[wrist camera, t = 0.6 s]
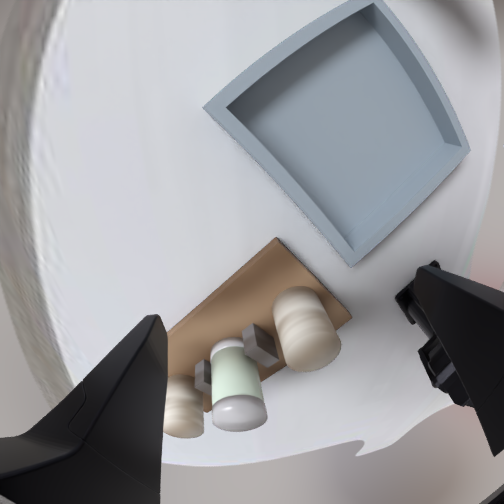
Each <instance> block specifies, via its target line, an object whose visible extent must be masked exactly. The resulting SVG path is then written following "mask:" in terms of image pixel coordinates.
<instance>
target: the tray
mask: <svg viewBox="0 0 504 504" xmlns="http://www.w3.org/2000/svg"><path fill="white" fill-rule="evenodd" d="M202 108H203V109H204V110H205V111H206V112H207V113H208V114H209V115H210V116H211V117H212V118H213V119H215V120H216V121H217V122H218V123H219V124H220V125H221V126H222V127H223V128H224V129H225V130H226V131H227V132H228V133H229V134H230V135H231V136H232V137H233V138H234V139H235V140H236V141H237V142H238V143H239V144H240V145H241V146H242V147H243V148H244V149H245V150H246V151H247V152H248V153H249V154H250V155H251V156H252V157H253V158H254V159H255V160H256V161H257V162H258V164H259V165H260V166H261V167H262V168H263V169H264V170H265V171H266V172H267V173H268V174H269V175H270V176H271V177H272V178H273V179H274V180H275V181H276V183H277V184H278V185H279V186H280V187H281V188H282V189H283V190H284V191H285V192H286V193H287V195H288V196H289V197H290V198H291V199H292V200H293V201H294V202H295V203H296V204H297V206H298V207H299V208H300V209H301V210H302V211H303V212H304V213H305V215H306V216H307V217H308V218H309V219H310V220H311V221H312V223H313V224H314V225H315V226H316V227H317V228H318V229H319V231H320V232H321V233H322V234H323V235H324V236H325V238H326V239H327V240H328V241H329V242H330V244H331V245H332V246H333V247H334V248H335V250H336V251H337V252H338V253H339V254H340V256H341V257H342V258H343V259H344V260H345V262H346V263H347V264H348V265H349V267H350V268H352V267H353V266H354V265H355V264H356V263H357V262H358V261H360V260H361V259H362V258H363V257H364V256H365V255H366V254H368V253H369V252H370V251H371V250H372V249H373V248H374V247H375V246H376V245H378V244H379V243H380V242H381V241H382V240H383V239H384V238H385V237H386V236H387V235H389V234H390V233H391V232H392V231H393V230H394V229H395V228H396V227H397V226H398V225H399V224H400V223H401V222H402V221H403V220H404V219H405V218H407V217H408V216H409V215H410V214H411V213H412V212H413V211H414V210H415V209H416V208H417V207H418V206H419V205H420V204H421V203H422V202H423V201H424V200H425V199H426V198H427V197H428V196H429V195H430V194H431V193H432V192H433V191H434V190H435V189H436V188H437V187H438V186H439V184H440V183H441V182H442V181H443V180H444V179H445V178H446V177H447V176H448V175H449V174H450V173H451V172H452V171H453V170H454V169H455V167H456V166H457V165H458V164H459V163H460V162H461V161H462V160H463V159H464V157H465V156H466V155H467V154H468V153H469V152H470V151H471V149H470V147H469V144H468V141H467V139H466V136H465V134H464V131H463V129H462V127H461V124H460V122H459V120H458V118H457V115H456V113H455V111H454V109H453V107H452V105H451V103H450V101H449V99H448V97H447V95H446V93H445V91H444V89H443V87H442V85H441V83H440V82H439V80H438V78H437V76H436V75H435V73H434V71H433V69H432V68H431V66H430V64H429V63H428V61H427V59H426V58H425V56H424V55H423V53H422V52H421V50H420V49H419V47H418V46H417V44H416V43H415V41H414V40H413V38H412V37H411V36H410V34H409V33H408V31H407V30H406V29H405V27H404V26H403V25H402V23H401V22H400V21H399V19H398V18H397V17H396V16H395V14H394V13H393V12H392V11H391V9H390V8H389V7H388V6H387V5H386V4H385V2H384V1H383V0H349V1H347V2H345V3H343V4H341V5H340V6H338V7H336V8H334V9H333V10H331V11H329V12H327V13H326V14H324V15H322V16H321V17H319V18H317V19H316V20H314V21H313V22H311V23H309V24H308V25H306V26H305V27H303V28H302V29H300V30H299V31H297V32H296V33H294V34H293V35H291V36H290V37H288V38H287V39H285V40H284V41H283V42H281V43H280V44H278V45H277V46H276V47H274V48H273V49H272V50H270V51H269V52H267V53H266V54H265V55H264V56H262V57H261V58H260V59H258V60H257V61H256V62H254V63H253V64H252V65H251V66H249V67H248V68H247V69H246V70H244V71H243V72H242V73H241V74H240V75H238V76H237V77H236V78H235V79H234V80H232V81H231V82H230V83H229V84H228V85H227V86H225V87H224V88H223V89H222V90H221V91H220V92H219V93H218V94H216V95H215V96H214V97H213V98H212V99H211V100H210V101H209V102H208V103H207V104H206V105H204V106H203V107H202Z"/></svg>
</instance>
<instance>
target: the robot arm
mask: <svg viewBox="0 0 504 504" xmlns="http://www.w3.org/2000/svg"><path fill="white" fill-rule="evenodd" d="M395 300H396V301H397V303H398V304H399V306H400V308H401V309H402V311H403V312H404V314H405V315H406V317H407V318H408V320H409V322H410V323H411V324H412V325H413V324H415V323H417V324H418V325H419V327H420V328H421V329H422V330H423V332H424V333H425V334H426V335H427V337H428V338H429V340H428V341H427V343H426V344H425V345H424V346H423V347H422V348H420V349H419V350H418V353H419V355H420V359H421V361H422V363H423V365H424V367H425V370H426V372H427V374H428V376H429V378H430V381H431V383H432V386H433V387H434V388H439V389H440V390H441V391H442V392H444V393H448V394H449V395H450V397H451V399H452V400H453V402H454V403H455V404H457V405H460V406H463V407H464V406H465V405H466V406H470V407H473V408H474V409H475V411H476V414H477V416H478V418H479V421H480V423H481V425H482V428H483V430H484V433H485V436H486V438H487V441H488V443H489V446H490V449H491V452H492V454H493V456H494V457H495V456H496V455H497V454H499V453H500V452H501V451H502V450H504V292H502V291H499V290H496V289H494V288H491V287H488V286H486V285H483V284H480V283H477V282H475V281H472V280H469V279H466V278H464V277H461V276H458V275H455V274H452V273H449V272H446V271H444V270H441V268H440V265H439V263H438V262H437V261H436V260H434V261H433V262H432V263H431V264H430V265H425V266H421V267H419V268H418V269H417V272H416V277H415V279H414V280H413V281H412V282H411V283H410V284H408V285H407V286H406V287H405V288H404V289H403V290H402V291H401V292H400V293H398V294H397V295H396V297H395ZM167 383H168V336H167V332H166V330H165V327H164V325H163V322H162V320H161V318H160V316H159V315H158V314H154V315H147V316H146V317H144V318H143V319H142V320H141V321H140V322H139V323H138V324H137V325H136V326H135V327H134V328H133V329H132V330H131V331H130V332H129V333H128V334H127V335H126V336H125V337H124V338H123V339H122V340H121V341H120V342H119V343H118V344H117V345H116V346H115V347H114V348H113V349H112V350H111V351H110V352H109V353H108V354H107V355H106V356H105V357H104V358H103V359H102V360H101V362H100V363H99V364H98V365H97V366H96V367H95V368H94V369H93V370H92V371H91V372H90V373H89V374H88V375H87V376H86V377H85V378H84V379H83V381H81V382H80V383H79V384H78V385H77V386H76V387H75V388H74V389H73V390H72V391H71V392H70V393H69V394H68V395H67V396H66V397H65V398H64V399H63V400H62V401H61V402H60V403H59V404H58V405H57V406H56V407H55V408H53V409H52V410H51V411H50V412H49V413H48V414H47V415H46V416H44V417H43V418H42V419H41V420H40V421H39V422H38V423H37V424H35V425H34V426H33V427H32V428H31V429H30V430H28V431H27V432H25V433H24V434H21V435H19V436H15V437H5V438H0V504H160V479H161V457H162V440H163V426H164V414H165V403H166V393H167ZM480 504H504V484H503V485H502V486H501V487H499V488H498V489H497V490H496V491H495V492H494V493H492V494H491V495H490V496H489V497H487V498H486V499H485V500H483V501H482V502H481V503H480Z"/></svg>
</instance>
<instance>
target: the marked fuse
mask: <svg viewBox="0 0 504 504" xmlns="http://www.w3.org/2000/svg"><path fill="white" fill-rule="evenodd" d="M210 356H211V381H212V422H213V424H214V425H215V426H216V427H217V428H219V429H222V430H225V431H231V432H242V431H248V430H252V429H255V428H258V427H260V426H261V425H263V424H264V423H265V422H266V421H267V411H266V406H265V403H264V398H263V393H262V387H261V382H260V376H259V371H258V365H257V361H255V360H254V359H252V358H250V357H249V356H247V355H245V351H244V344H243V338H240V337H228V338H224V339H221V340H219V341H218V342H216V343H215V344H214V345H213V346H212V348H211V351H210Z"/></svg>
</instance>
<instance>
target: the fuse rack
mask: <svg viewBox="0 0 504 504" xmlns="http://www.w3.org/2000/svg"><path fill="white" fill-rule="evenodd" d="M351 318H352V316H351V315H350V313H349V311H348V310H347V309H346V308H345V307H344V306H343V305H342V304H341V303H340V302H339V301H338V300H337V299H336V298H335V297H334V296H333V295H332V294H331V293H330V292H329V291H328V289H327V288H326V287H325V286H324V285H323V284H322V283H321V282H320V281H319V280H318V279H317V278H316V277H315V276H314V275H313V274H312V273H311V272H310V271H309V270H308V269H307V268H306V267H305V266H304V265H303V264H302V263H301V262H300V261H299V260H298V259H297V258H296V257H295V256H294V255H293V254H292V253H291V252H290V251H289V250H288V249H287V248H286V247H285V246H284V245H283V244H282V243H281V242H280V241H279V240H278V239H277V238H276V237H275V238H274V239H273V240H272V241H271V242H270V243H269V244H267V245H266V246H265V247H264V248H263V249H262V250H261V251H259V252H258V253H257V254H256V255H255V256H254V257H253V258H251V259H250V260H249V261H248V262H247V263H246V264H245V265H244V266H242V267H241V268H240V269H239V270H238V271H237V272H236V273H234V274H233V275H232V276H231V277H230V278H229V279H228V280H226V281H225V282H224V283H223V284H222V285H221V286H220V287H219V288H217V289H216V290H215V291H214V292H213V293H212V294H211V295H209V296H208V297H207V298H206V299H205V300H204V301H203V302H201V303H200V304H199V305H198V306H197V307H196V308H195V309H193V310H192V311H191V312H190V313H189V314H188V315H187V316H185V317H184V318H183V319H182V320H181V321H180V322H179V323H177V324H176V325H175V326H174V327H173V328H172V329H171V330H169V331H168V332H167V336H168V383H167V393H166V403H165V414H164V426H163V432H164V433H166V434H168V435H170V436H173V437H177V438H195V437H198V436H201V435H202V434H203V433H204V418H203V411H204V412H206V413H207V412H209V411H211V410H212V381H211V356H210V351H211V348H212V346H213V345H214V344H215V343H216V342H218V341H219V340H221V339H224V338H228V337H240V338H243V344H244V351H245V355H247V356H249V357H250V358H252V359H254V360H255V361H257V365H258V371H259V376H260V382H262V381H263V380H265V379H266V378H268V377H270V376H271V375H273V374H274V373H276V372H277V371H279V370H280V369H282V368H283V367H285V366H288V367H289V368H291V369H292V370H294V371H298V372H311V371H315V370H318V369H321V368H323V367H325V366H327V365H328V364H330V363H331V362H332V361H333V360H334V359H335V358H336V357H337V356H338V354H339V353H340V350H341V341H340V338H339V336H338V335H337V333H336V330H337V329H339V328H340V327H341V326H342V325H344V324H345V323H346V322H348V321H349V320H350V319H351Z"/></svg>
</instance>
